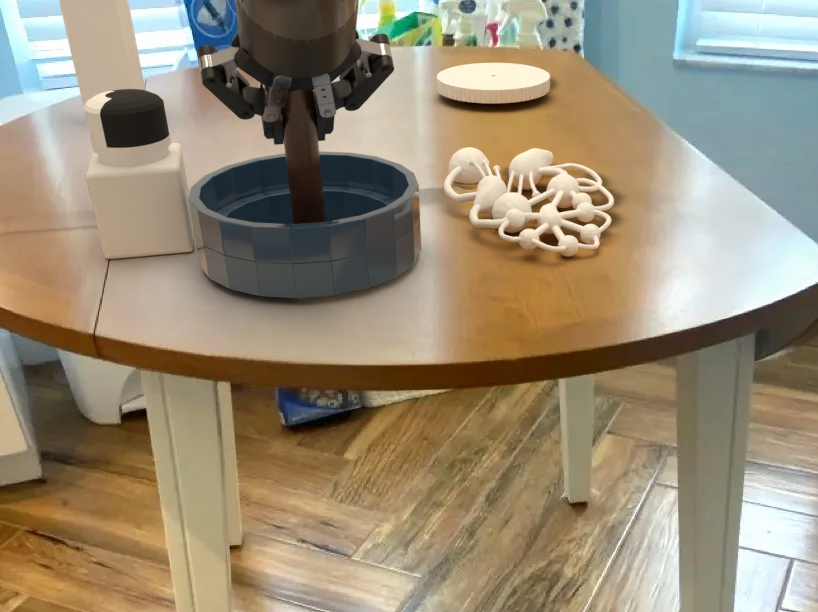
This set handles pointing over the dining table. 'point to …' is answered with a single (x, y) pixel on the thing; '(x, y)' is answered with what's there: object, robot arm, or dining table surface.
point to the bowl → (306, 227)
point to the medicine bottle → (136, 177)
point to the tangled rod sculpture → (516, 209)
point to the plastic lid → (493, 82)
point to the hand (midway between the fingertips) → (297, 131)
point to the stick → (303, 157)
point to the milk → (102, 46)
